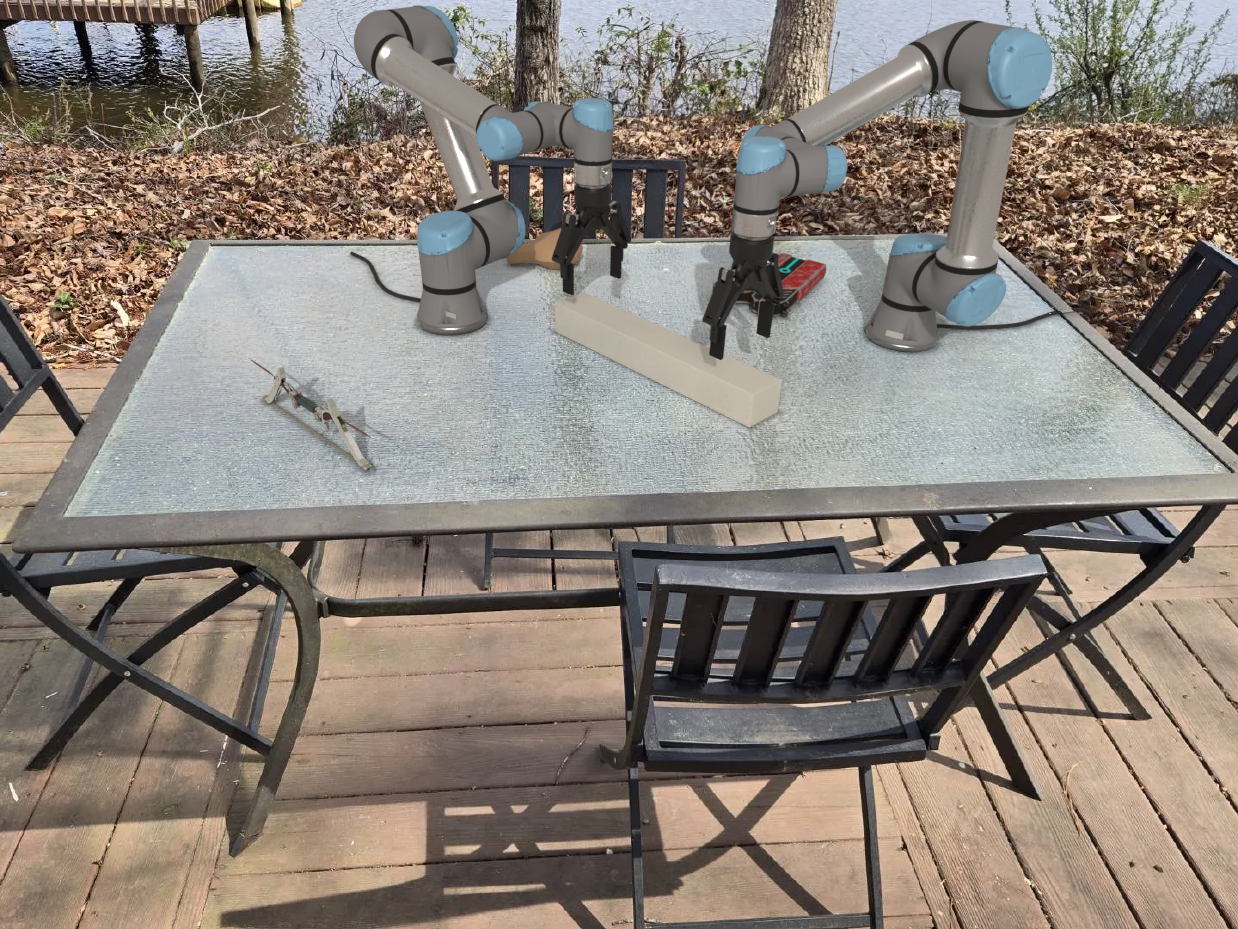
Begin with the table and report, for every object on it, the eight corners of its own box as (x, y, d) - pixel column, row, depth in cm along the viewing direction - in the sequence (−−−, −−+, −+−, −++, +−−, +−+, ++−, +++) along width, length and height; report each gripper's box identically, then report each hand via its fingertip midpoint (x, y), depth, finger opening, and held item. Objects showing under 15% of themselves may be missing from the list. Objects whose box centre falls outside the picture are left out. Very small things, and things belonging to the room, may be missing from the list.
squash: (584, 273, 223) (579, 241, 217) (507, 280, 225) (500, 249, 219) (585, 251, 231) (581, 220, 225) (511, 258, 233) (504, 227, 227)
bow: (382, 473, 146) (374, 421, 141) (372, 477, 145) (364, 425, 140) (264, 393, 168) (253, 345, 162) (255, 396, 167) (243, 348, 161)
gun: (708, 284, 207) (784, 305, 199) (760, 245, 229) (831, 262, 221) (706, 302, 209) (781, 323, 201) (758, 261, 231) (828, 278, 223)
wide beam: (555, 331, 194) (554, 302, 190) (583, 321, 199) (583, 291, 195) (749, 427, 162) (753, 394, 158) (777, 412, 167) (782, 379, 163)
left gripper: (557, 199, 164) (559, 305, 176) (650, 176, 179) (646, 275, 191) (532, 190, 169) (535, 294, 180) (624, 168, 183) (622, 265, 195)
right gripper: (722, 256, 140) (711, 374, 152) (813, 223, 155) (797, 333, 167) (687, 243, 145) (679, 359, 157) (779, 213, 159) (765, 320, 171)
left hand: (592, 284), depth 185 cm, fingers open, 13 cm apart
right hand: (740, 346), depth 162 cm, fingers open, 13 cm apart
